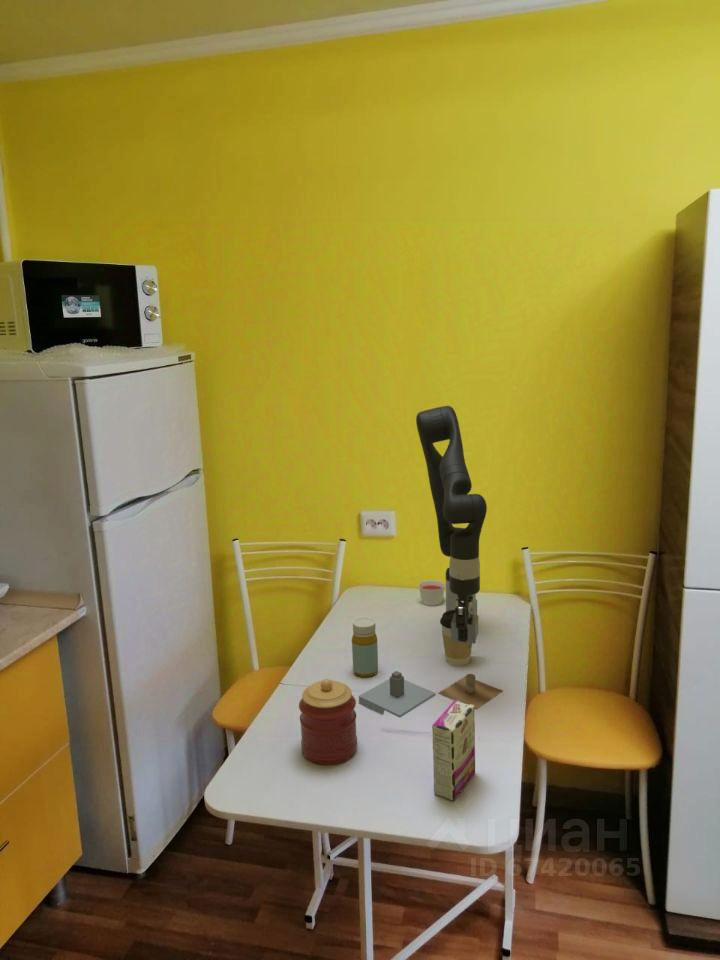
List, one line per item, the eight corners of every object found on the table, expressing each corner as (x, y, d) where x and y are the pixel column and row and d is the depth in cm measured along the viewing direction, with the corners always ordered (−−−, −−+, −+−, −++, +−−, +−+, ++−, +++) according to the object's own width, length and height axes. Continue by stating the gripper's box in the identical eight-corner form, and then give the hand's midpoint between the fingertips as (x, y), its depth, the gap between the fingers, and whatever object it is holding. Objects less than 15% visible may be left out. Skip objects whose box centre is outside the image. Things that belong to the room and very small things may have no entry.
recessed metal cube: (455, 631, 187) (454, 613, 186) (478, 633, 185) (478, 615, 184) (451, 641, 181) (451, 622, 180) (475, 643, 180) (475, 625, 179)
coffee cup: (482, 663, 205) (482, 614, 201) (462, 677, 198) (462, 626, 194) (453, 653, 211) (453, 605, 208) (433, 666, 204) (432, 616, 201)
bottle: (348, 675, 201) (346, 625, 197) (360, 664, 207) (358, 615, 203) (371, 680, 198) (369, 629, 194) (382, 669, 204) (381, 619, 200)
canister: (304, 733, 174) (300, 666, 170) (358, 733, 173) (356, 665, 169) (298, 766, 161) (294, 695, 157) (356, 766, 160) (353, 694, 156)
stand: (465, 681, 196) (465, 660, 194) (503, 696, 187) (503, 674, 186) (438, 698, 187) (437, 677, 186) (476, 715, 179) (476, 693, 178)
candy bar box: (454, 766, 159) (454, 698, 156) (475, 772, 157) (476, 704, 153) (432, 794, 150) (431, 723, 146) (454, 802, 148) (453, 730, 144)
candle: (419, 597, 254) (418, 580, 253) (445, 597, 253) (444, 580, 252) (418, 607, 245) (418, 589, 244) (445, 607, 244) (445, 589, 243)
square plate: (394, 682, 196) (394, 655, 194) (435, 700, 186) (435, 671, 185) (358, 703, 186) (357, 674, 185) (400, 722, 177) (399, 693, 175)
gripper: (454, 562, 187) (454, 622, 191) (444, 582, 174) (445, 646, 178) (483, 564, 185) (483, 625, 189) (475, 584, 172) (475, 649, 175)
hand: (464, 635), depth 183 cm, fingers closed on recessed metal cube, 6 cm apart
